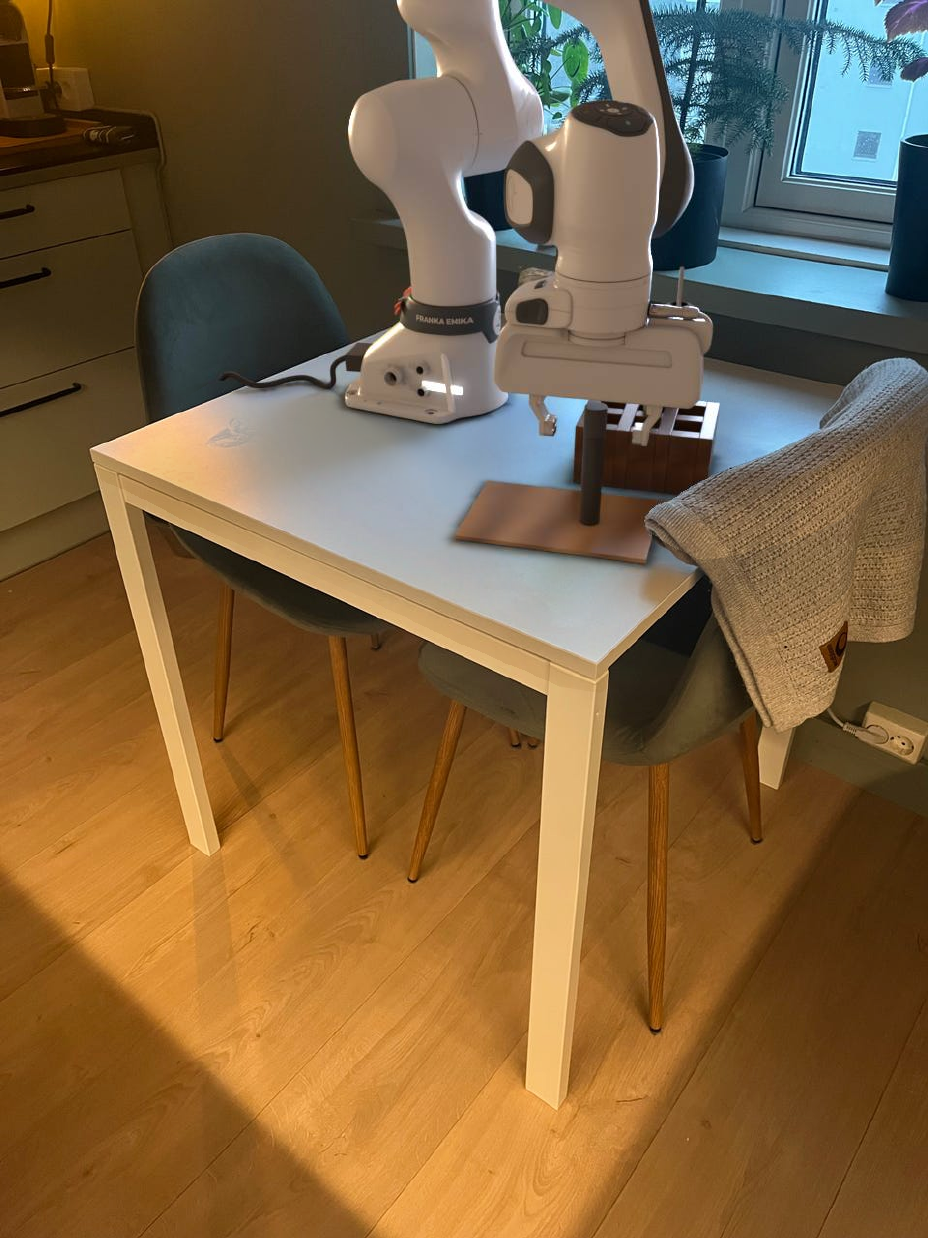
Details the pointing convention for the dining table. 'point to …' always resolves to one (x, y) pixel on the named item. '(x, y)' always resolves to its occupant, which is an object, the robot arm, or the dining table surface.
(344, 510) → the dining table surface
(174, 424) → the dining table surface
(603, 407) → the black marker
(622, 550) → the brown wooden board
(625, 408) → the pen stand
